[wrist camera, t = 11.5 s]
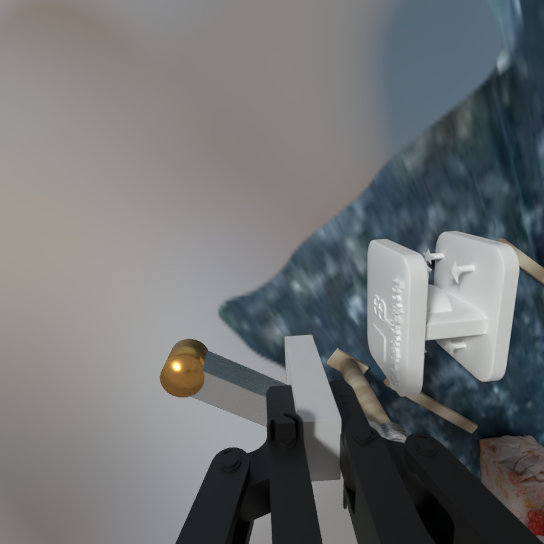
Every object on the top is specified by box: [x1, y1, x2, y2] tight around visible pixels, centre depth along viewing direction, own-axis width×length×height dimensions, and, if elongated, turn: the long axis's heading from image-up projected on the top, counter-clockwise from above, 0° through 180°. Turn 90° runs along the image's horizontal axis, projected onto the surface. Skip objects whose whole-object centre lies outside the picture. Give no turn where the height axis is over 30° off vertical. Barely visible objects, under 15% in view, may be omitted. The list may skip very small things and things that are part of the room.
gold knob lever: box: [160, 339, 409, 443], centre depth 27 cm, size 4×24×3 cm, turn 62°
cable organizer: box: [367, 231, 519, 397], centre depth 35 cm, size 15×11×12 cm
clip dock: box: [327, 238, 544, 434], centre depth 37 cm, size 24×25×13 cm
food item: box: [479, 434, 544, 543], centre depth 45 cm, size 14×8×10 cm, turn 12°
